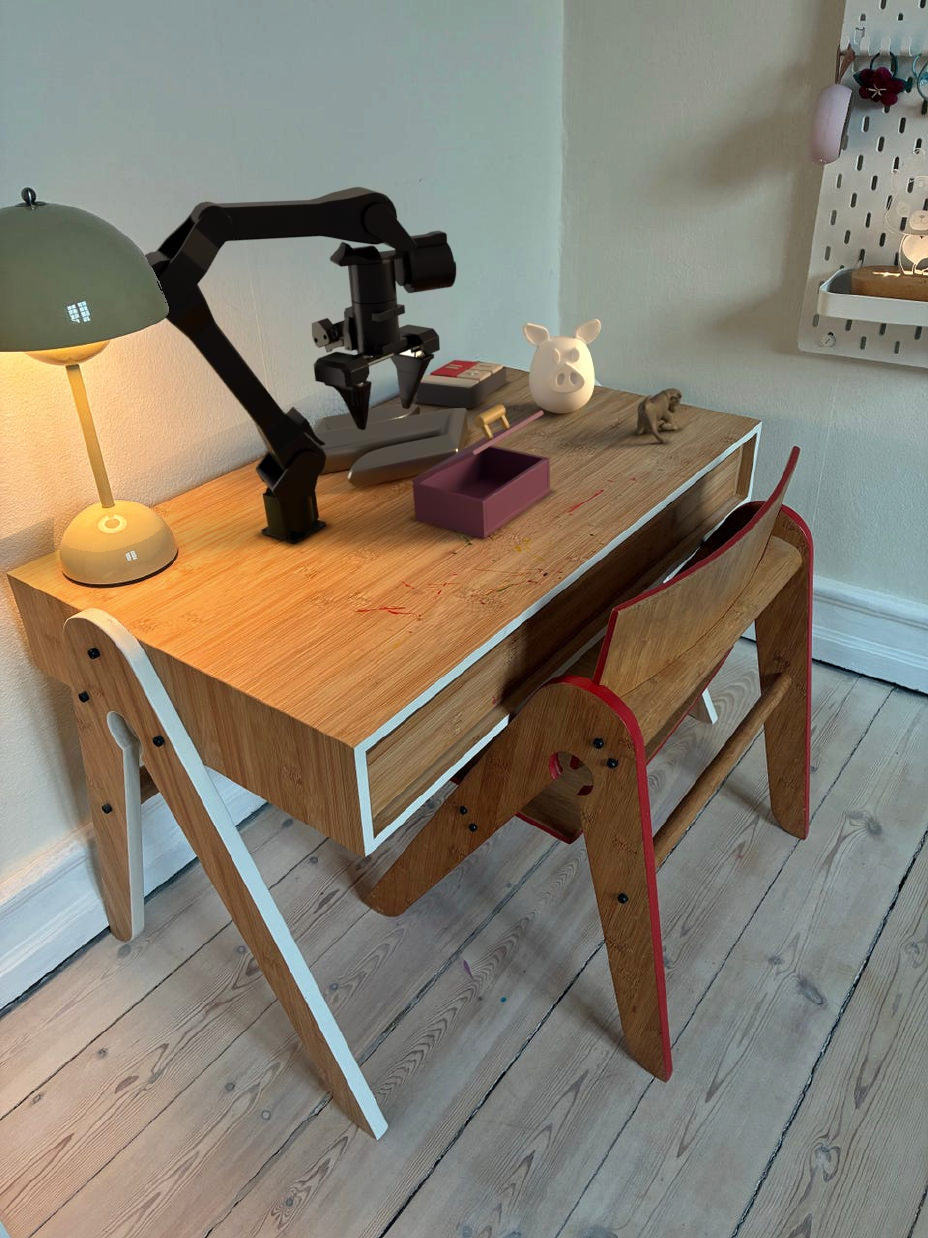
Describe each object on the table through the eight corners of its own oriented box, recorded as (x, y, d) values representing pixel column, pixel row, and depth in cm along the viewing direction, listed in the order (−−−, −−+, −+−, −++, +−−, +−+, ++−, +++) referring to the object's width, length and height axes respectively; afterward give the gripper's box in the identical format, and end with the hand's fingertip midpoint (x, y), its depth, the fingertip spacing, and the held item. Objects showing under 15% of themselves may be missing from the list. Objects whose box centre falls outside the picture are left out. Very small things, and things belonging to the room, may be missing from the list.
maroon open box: (550, 492, 137) (549, 457, 134) (484, 538, 125) (482, 502, 123) (483, 476, 142) (482, 443, 140) (415, 519, 131) (412, 484, 129)
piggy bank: (545, 429, 157) (545, 336, 149) (516, 407, 166) (514, 319, 159) (613, 415, 161) (616, 324, 153) (581, 395, 170) (582, 308, 162)
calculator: (507, 362, 176) (471, 384, 164) (507, 386, 178) (471, 409, 166) (453, 357, 180) (414, 378, 169) (454, 380, 182) (415, 402, 171)
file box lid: (543, 413, 131) (530, 386, 130) (474, 455, 120) (459, 426, 119) (483, 442, 140) (470, 417, 139) (413, 483, 128) (398, 456, 128)
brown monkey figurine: (659, 447, 148) (662, 400, 144) (625, 441, 151) (627, 395, 147) (691, 422, 156) (694, 377, 152) (658, 416, 159) (661, 372, 155)
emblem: (376, 381, 166) (510, 408, 151) (379, 411, 168) (510, 441, 153) (254, 434, 147) (392, 471, 132) (260, 466, 150) (396, 506, 135)
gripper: (373, 276, 131) (383, 389, 139) (274, 307, 118) (291, 429, 127) (439, 285, 125) (445, 401, 133) (341, 318, 113) (355, 445, 121)
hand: (384, 418), depth 129 cm, fingers open, 9 cm apart
